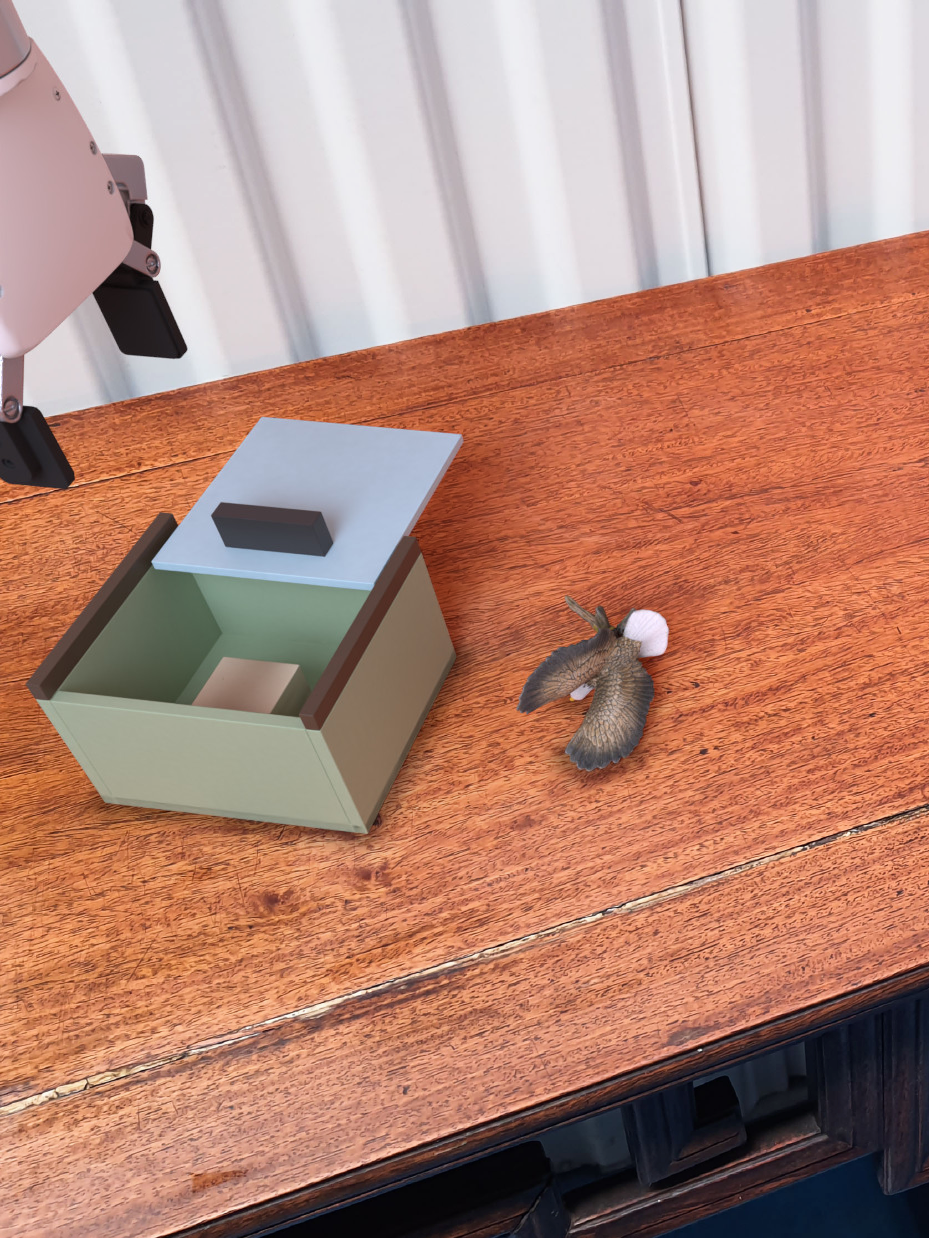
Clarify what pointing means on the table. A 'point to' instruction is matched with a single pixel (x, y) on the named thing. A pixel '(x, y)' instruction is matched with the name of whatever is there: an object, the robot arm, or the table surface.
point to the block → (255, 687)
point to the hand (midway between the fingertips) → (101, 414)
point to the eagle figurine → (602, 683)
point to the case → (239, 740)
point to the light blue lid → (311, 503)
